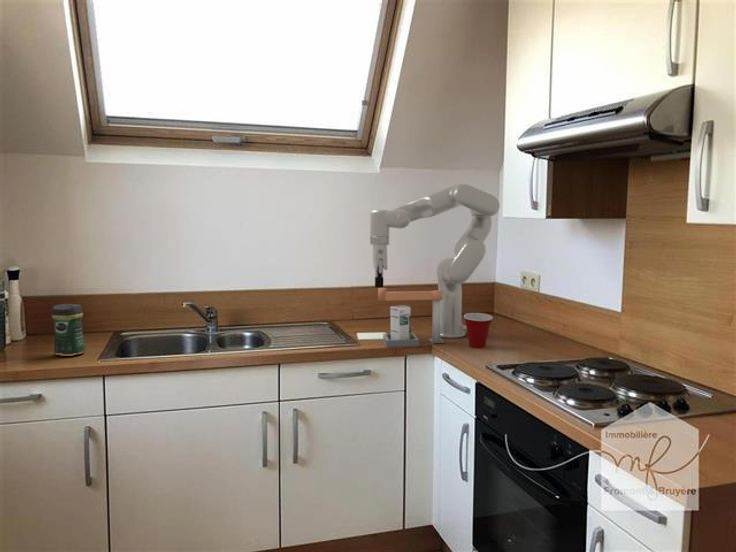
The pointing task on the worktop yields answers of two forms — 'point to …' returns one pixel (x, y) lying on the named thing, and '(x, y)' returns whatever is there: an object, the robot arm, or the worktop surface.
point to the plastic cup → (477, 328)
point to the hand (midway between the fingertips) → (379, 287)
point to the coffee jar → (68, 328)
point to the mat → (370, 336)
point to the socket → (414, 340)
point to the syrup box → (400, 322)
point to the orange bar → (409, 295)
